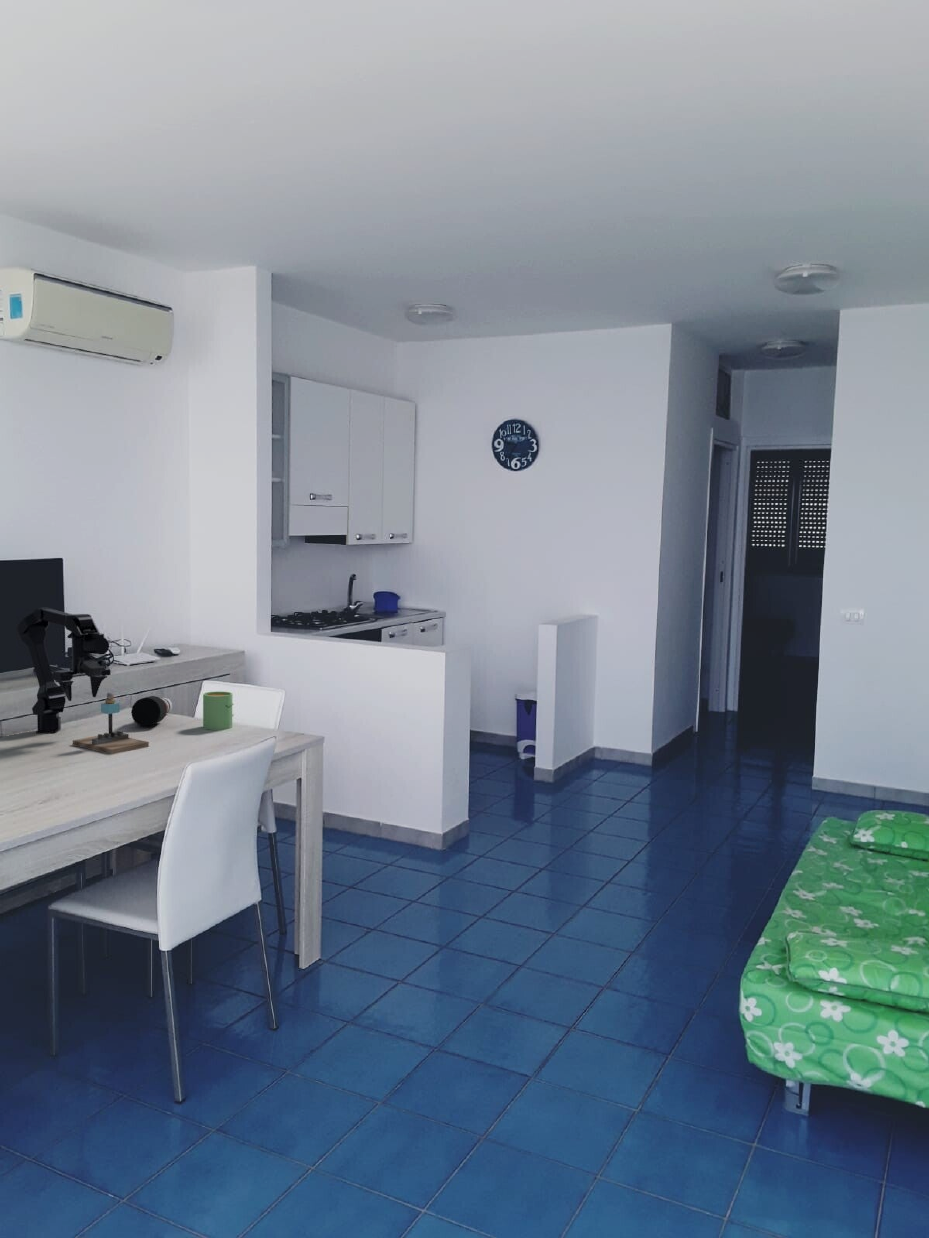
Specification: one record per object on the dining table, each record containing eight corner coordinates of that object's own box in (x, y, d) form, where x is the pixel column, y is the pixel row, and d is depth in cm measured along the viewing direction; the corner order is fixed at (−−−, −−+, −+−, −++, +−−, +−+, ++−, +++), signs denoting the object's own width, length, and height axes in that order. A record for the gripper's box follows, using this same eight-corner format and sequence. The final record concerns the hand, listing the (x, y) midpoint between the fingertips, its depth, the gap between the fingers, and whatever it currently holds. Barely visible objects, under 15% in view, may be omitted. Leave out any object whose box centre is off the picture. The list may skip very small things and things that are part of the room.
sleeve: (101, 712, 319) (101, 703, 319) (111, 710, 322) (111, 701, 322) (108, 714, 317) (108, 704, 317) (119, 712, 320) (119, 703, 320)
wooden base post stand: (72, 744, 321) (71, 692, 319) (109, 737, 332) (109, 686, 330) (111, 754, 309) (111, 699, 308) (148, 746, 321) (148, 693, 319)
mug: (229, 730, 348) (229, 696, 347) (199, 729, 348) (199, 695, 347) (238, 723, 361) (238, 690, 360) (209, 722, 361) (209, 689, 360)
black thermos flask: (172, 722, 381) (185, 699, 382) (151, 731, 348) (165, 706, 348) (149, 710, 381) (161, 687, 381) (126, 717, 347) (140, 692, 348)
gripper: (70, 657, 316) (71, 705, 318) (120, 651, 332) (121, 697, 333) (50, 654, 323) (51, 701, 324) (99, 649, 338) (100, 694, 340)
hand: (82, 698), depth 330 cm, fingers open, 9 cm apart
